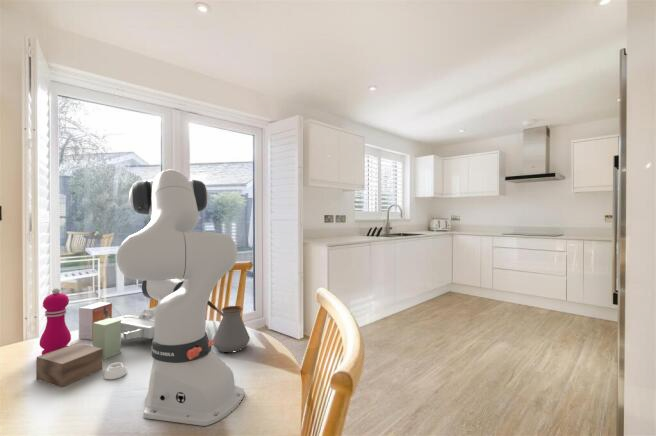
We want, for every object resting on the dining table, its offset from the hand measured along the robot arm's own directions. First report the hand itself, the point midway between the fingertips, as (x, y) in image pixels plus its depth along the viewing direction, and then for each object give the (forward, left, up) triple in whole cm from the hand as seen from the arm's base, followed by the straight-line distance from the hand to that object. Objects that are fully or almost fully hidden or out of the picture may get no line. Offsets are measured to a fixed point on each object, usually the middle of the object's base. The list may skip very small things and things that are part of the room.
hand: (113, 334), depth 101 cm
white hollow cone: (-14, +10, -6) cm, 18 cm away
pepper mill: (+13, +8, -6) cm, 17 cm away
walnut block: (-3, +14, -6) cm, 15 cm away
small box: (+18, -7, -6) cm, 20 cm away
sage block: (0, +2, -5) cm, 6 cm away
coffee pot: (-26, -17, -6) cm, 32 cm away
